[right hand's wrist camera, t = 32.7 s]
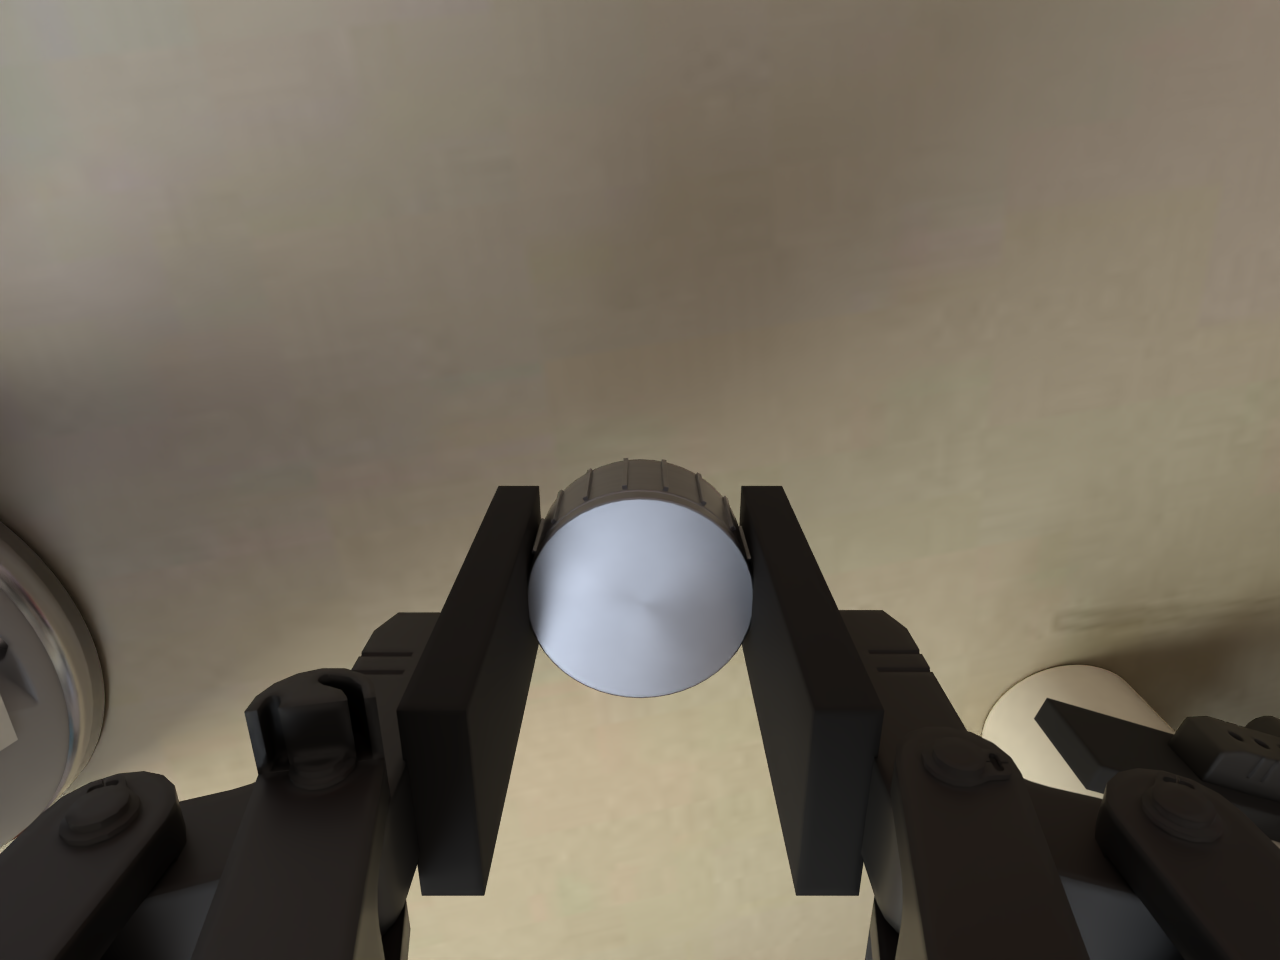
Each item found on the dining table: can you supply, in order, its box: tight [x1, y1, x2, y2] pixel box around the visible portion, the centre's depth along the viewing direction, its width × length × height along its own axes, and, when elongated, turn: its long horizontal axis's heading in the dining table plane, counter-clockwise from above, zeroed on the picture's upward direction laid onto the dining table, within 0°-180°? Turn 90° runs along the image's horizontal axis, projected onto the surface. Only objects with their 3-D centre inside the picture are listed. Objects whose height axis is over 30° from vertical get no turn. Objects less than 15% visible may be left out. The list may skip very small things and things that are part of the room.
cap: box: [527, 458, 753, 698], centre depth 14 cm, size 4×4×2 cm
